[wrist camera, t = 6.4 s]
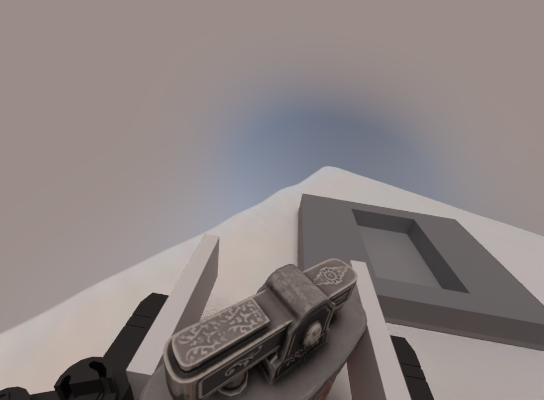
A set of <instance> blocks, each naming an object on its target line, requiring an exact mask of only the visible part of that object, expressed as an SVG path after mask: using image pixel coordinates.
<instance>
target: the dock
mask: <svg viewBox="0 0 544 400" xmlns="http://www.w3.org/2000/svg"><path fill="white" fill-rule="evenodd" d="M331 258H333V259H339V260H341V261H343V262H345V263H346V264H347V265H349V262H350V260H354V261H360V262H365V263H366V266H367V269H368V272H369V275H370V278H371V281H372V284H373V287H374V290H375V293H376V296H377V299H378V302H379V305H380V308H381V311H382V314H383V317H384V320H385V322H388V323H394V324H400V325H405V326H411V327H416V328H422V329H427V330H433V331H438V332H444V333H449V334H455V335H460V336H466V337H471V338H477V339H482V340H488V341H493V342H499V343H504V344H510V345H515V346H521V347H526V348H532V349H537V350H543V351H544V305H543V304H542V303H541V302H540V301H539V300H538V299H537V298H536V297H535V296H533V295H532V294H531V293H530V292H529V291H528V290H527V289H526V288H525V287H524V286H523V285H522V284H521V283H520V282H519V281H518V280H517V279H516V278H515V277H514V276H513V275H512V274H511V273H510V272H509V271H508V270H507V269H506V268H505V267H504V266H503V265H502V264H501V263H500V262H499V261H497V260H496V259H495V258H494V257H493V256H492V255H491V254H490V253H489V252H488V251H487V250H486V249H485V248H484V247H483V246H482V245H481V244H480V243H479V242H478V241H477V240H476V239H475V238H474V237H473V236H472V235H471V234H470V233H469V232H468V231H467V230H466V229H465V228H464V227H462V226H461V225H460V224H459V223H458V222H457V221H456V220H455V219H449V218H443V217H437V216H432V215H426V214H420V213H414V212H408V211H402V210H396V209H390V208H385V207H379V206H373V205H367V204H361V203H355V202H349V201H343V200H338V199H332V198H326V197H320V196H314V195H308V194H302V199H301V203H300V208H299V221H298V269H299V270H300V271H301V272H303V271H305V270H307V269H309V268H311V267H313V266H315V265H317V264H319V263H321V262H323V261H326V260H328V259H331Z"/></svg>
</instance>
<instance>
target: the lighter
mask: <svg viewBox="0 0 544 400" xmlns="http://www.w3.org/2000/svg"><path fill="white" fill-rule="evenodd" d="M357 279H358V275H357V273H356V271H354V270H353V269H352V268H351V267H350V266H349V265H347V264H346V263H345V262H343V261H341V260H339V259H333V258H331V259H328V260H326V261H323V262H321V263H319V264H317V265H315V266H313V267H311V268H309V269H307V270H305V271H303V272H301V271H300V270H299V269H298V268H297V267H296V266H295V265H293V264H288V265H286V266H283V267H281V268H279V269H277V270H276V271H275V272H273V273H272V274H271V275H270V276H269V278H268V279H267V280H266V282H265V284H264V285H263V286H262V287H261V288H260V289H259V290H258V292H257V293H256V294H255V295H253V296H251V297H249V298H247V299H245V300H243V301H241V302H239V303H237V304H235V305H232V306H230V307H228V308H226V309H224V310H222V311H220V312H218V313H216V314H214V315H212V316H210V317H208V318H206V319H203V320H201V321H199V322H197V323H195V324H193V325H191V326H189V327H187V328H185V329H183V330H181V331H179V332H177V333H176V334H174V335H173V336H171V337H170V338H169V339H168V341H167V342H166V343H165V345H164V349H163V358H164V363H162V365H161V366H160V367H159V368H158V369H157V370H156V371H155V372H154V373H153V374H152V375H151V376H150V378H149V380H148V382H147V384H146V386H145V387H144V389H143V391H142V394H141V398H140V400H325V399H326V397H327V395H328V393H329V391H330V389H331V387H332V384H333V382H334V380H335V378H336V376H337V374H338V373H339V372H340V371H341V369H342V368H343V366H344V365H345V363H346V361H347V360H348V358H349V357H350V355H351V354H352V352H353V351H354V349H355V348H356V346H357V344H358V343H359V341H360V339H361V337H362V335H363V333H364V331H365V329H366V325H367V317H366V312H365V310H364V309H363V307H362V305H361V303H360V302H359V301H358V300H357V299H356V298H355V297H354V296H353V295H352V291H353V289H354V287H355V284H356V282H357Z"/></svg>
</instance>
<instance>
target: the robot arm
mask: <svg viewBox="0 0 544 400" xmlns="http://www.w3.org/2000/svg"><path fill="white" fill-rule="evenodd" d="M218 254H219V237H217V236H212V235H206V234H205V235H204V236H203V238H202V240H201V242H200V243H199V245H198V247H197V248H196V250H195V252H194V254H193V255H192V257H191V259H190V261H189V262H188V264H187V266H186V267H185V269H184V271H183V273H182V274H181V276H180V278H179V280H178V281H177V283H176V285H175V286H174V288H173V290H172V292H171V293H170V295H169V296H168V295H163V294H157V293H152V294H150V295H149V296H148V297H147V298H145V299H144V300H143V301H141V302H140V304H139V305H138V307H137V308H136V310H135V311H134V313H133V315H132V316H131V317H130V318H129V320H128V321H127V323H126V325H125V327H123V329H122V330H121V332H120V333H119V335H118V336H117V337H116V339H115V340H114V342H113V343H112V345H111V346H110V348H109V349H108V351H107V352H106V353H105V355H104V356H103V358H102V357H90V358H86V359H83V360H80V361H79V362H77V363H75V364H74V365H72V366H70V367H69V368H68V369H67V370H66V371H65V372H64V373H63V374H62V375H61V376H60V377H59V379H58V380H57V382H56V384H55V385H54V388H55V391H49V392H43V393H38V394H32V395H29V393H28V392H27V390H26V389H24V388H21V387H11V388H6V389H3V390H1V391H0V400H140V398H141V394H142V391H143V389H144V387H145V386H146V384H147V382H148V380H149V378H150V376H151V375H152V374H153V373H154V372H155V371H156V370H157V369H158V368H159V367H160V366H161V365H162V363H164V358H163V349H164V345H165V343H166V342H167V341H168V339H169V338H170V337H171V336H173V335H174V334H176V333H177V332H179V331H181V330H183V329H185V328H187V327H189V326H191V325H193V324H195V323H197V322H199V321H200V318H201V316H202V313H203V311H204V308H205V306H206V303H207V301H208V298H209V296H210V293H211V291H212V288H213V286H214V283H215V281H216V278H217V274H218ZM349 266H350V267H351V268H352V269H353V270H354V271H356V273H357V275H358V279H357V282H356V284H355V287H354V289H353V291H352V295H353V296H354V297H355V298H356V299H357V300H358V301H359V302H360V303H361V305H362V307H363V309H364V310H365V312H366V317H367V325H366V329H365V331H364V333H363V335H362V337H361V339H360V341H359V343H358V344H357V346H356V348H355V349H354V351H353V352H352V354H351V355H350V357H349V358H348V360H347V361H346V362H347V369H348V375H349V381H350V388H351V394H352V400H434V398H433V396H432V393H431V391H430V388H429V386H428V383H427V382H426V378H425V376H424V373H423V371H422V369H421V366H420V363H419V361H418V358H417V356H416V353H415V351H414V350H413V349H412V347H411V346H410V345H409V343H408V342H407V341H406V339H405V338H402V337H397V336H391V335H389V332H388V329H387V326H386V323H385V320H384V317H383V314H382V311H381V308H380V305H379V302H378V299H377V296H376V293H375V290H374V287H373V284H372V281H371V278H370V275H369V272H368V269H367V266H366V263H365V262H360V261H354V260H350V262H349Z"/></svg>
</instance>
